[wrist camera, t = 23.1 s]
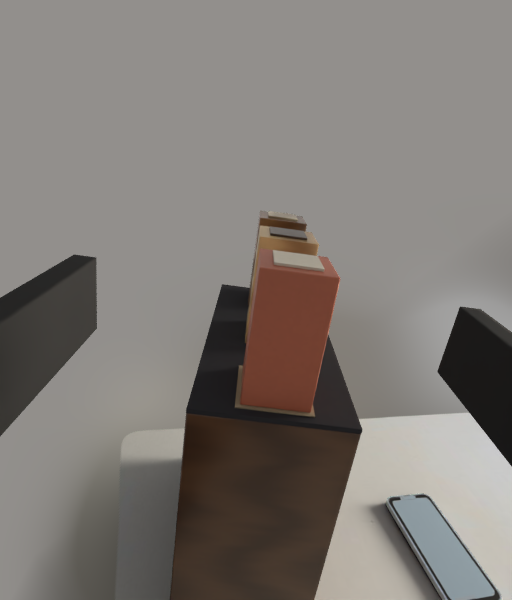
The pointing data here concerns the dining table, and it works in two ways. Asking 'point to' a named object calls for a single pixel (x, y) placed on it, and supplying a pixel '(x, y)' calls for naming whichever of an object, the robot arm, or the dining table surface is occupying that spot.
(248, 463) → the stand
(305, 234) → the wooden pillar block
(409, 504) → the smartphone
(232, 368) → the black mat
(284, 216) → the wooden block
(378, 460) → the dining table surface
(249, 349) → the orange block
